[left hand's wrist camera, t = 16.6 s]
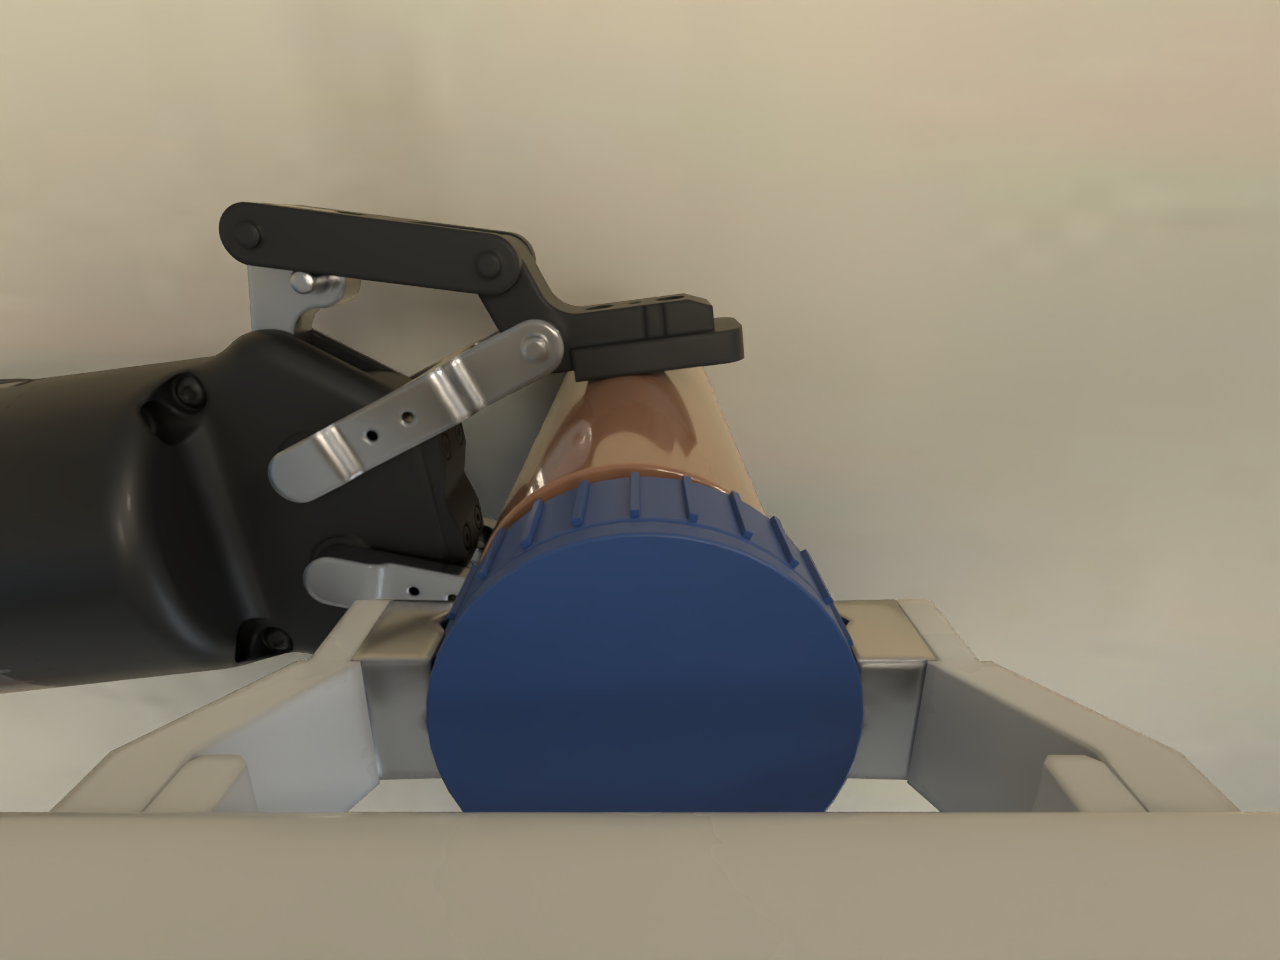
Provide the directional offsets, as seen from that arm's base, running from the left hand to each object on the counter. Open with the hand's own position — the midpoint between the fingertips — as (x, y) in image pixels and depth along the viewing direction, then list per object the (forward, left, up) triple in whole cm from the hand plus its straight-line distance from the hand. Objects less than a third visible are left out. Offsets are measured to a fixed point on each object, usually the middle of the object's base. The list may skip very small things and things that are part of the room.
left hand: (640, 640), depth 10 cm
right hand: (-2, +2, -7) cm, 8 cm away
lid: (0, 0, +2) cm, 2 cm away
